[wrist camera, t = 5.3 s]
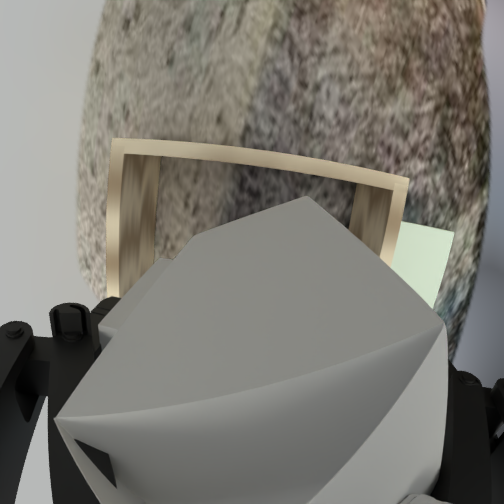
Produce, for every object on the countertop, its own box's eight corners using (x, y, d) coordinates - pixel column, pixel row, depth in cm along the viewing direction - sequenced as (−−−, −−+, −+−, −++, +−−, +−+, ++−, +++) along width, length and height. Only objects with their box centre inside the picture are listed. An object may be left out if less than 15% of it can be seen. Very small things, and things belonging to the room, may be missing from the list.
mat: (365, 213, 33) (367, 214, 33) (451, 231, 34) (454, 232, 33) (342, 313, 37) (343, 316, 36) (425, 320, 37) (427, 322, 36)
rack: (152, 141, 32) (112, 137, 22) (369, 171, 32) (409, 178, 22) (143, 286, 37) (109, 328, 27) (339, 313, 37) (361, 362, 27)
